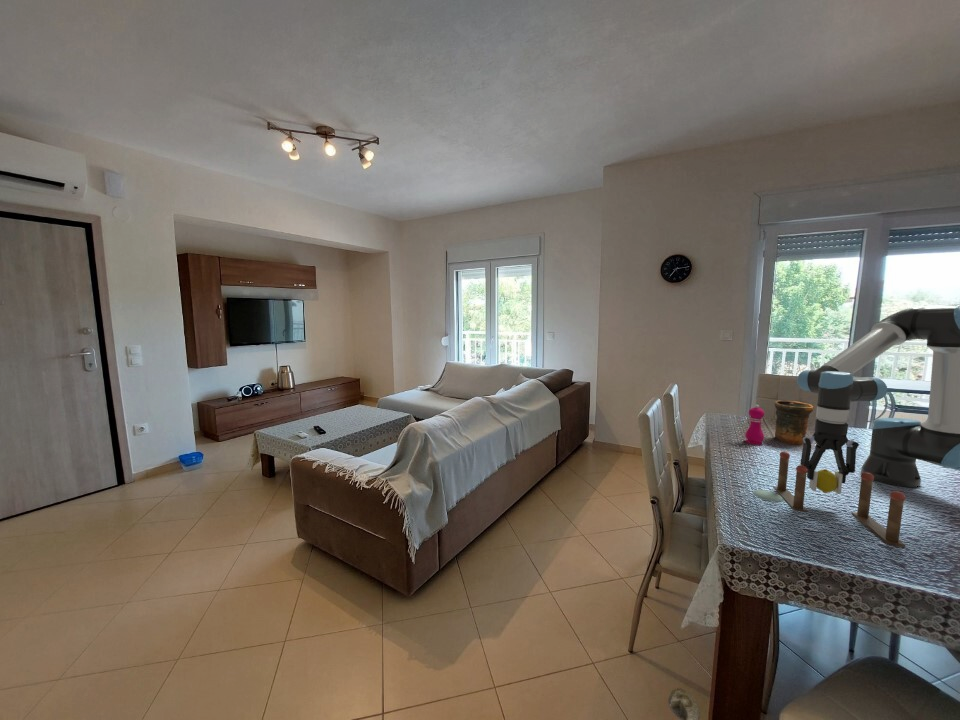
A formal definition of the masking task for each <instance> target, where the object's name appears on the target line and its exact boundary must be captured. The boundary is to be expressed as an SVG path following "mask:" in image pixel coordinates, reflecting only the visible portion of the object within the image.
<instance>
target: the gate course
mask: <svg viewBox="0 0 960 720" xmlns="http://www.w3.org/2000/svg"><path fill="white" fill-rule="evenodd" d="M790 457H791V454H790V453H789V452H788V451H780V453H779V465H778V477H777V485H776V486H773V489H774V490H776V492H777V494H778V495H780V496H781V497H782V498H783V500H784V501H785V502H786V503H787V504H788V505H789V507H790V508H791V509H792V510H793V511H799V512H805V513H808V510H807V508H806V507H805V506H804V504H805V503H804V502H805V493H806V492H805V491H806V483H807V482H806V481H807V472H808V469H807V468H806V467H805V466H803V465H801V464H799V465H797V466H796V467H795V471H796V475H795V483H794V484H795V485H794V493H791V492H790V490H788V489H787V484H788V473H789V472H788V471H789V462H790ZM860 478H861V479H860V488H859V497H858V504H857V505H858V506H857V512H855V511H854V512H853V511H852V512H851V515H852V516H853V517H854V518H856V519H857V520H858V521H859V522H860V523H862V524H863V525H864V526H865V527H866V528H867V529H868V530H869V531H870V532H872V534H874V535H875V536H876V537H878V539H880V540H881V541H882V542H883V543H885V544H886V545H888V546H895V547H900V548H905V547H906V544H905V543H904V542H903V541H902V540H900V532H901V525H902V518H903V508H904V501H905V500H906V495H905V494H904V493H903V492H902V491H900V490H899V491H898V490H893V491H891V492H890V493H889V507H888V514H887V522H886V527H884V526H882V525H881V524H880V523H879V522H878V521H876V520H875V519H873V517H871V516H870V508H871V499H872V490H873V481H875V480H874V476H873V475H872V474H871V473H868V472H864V473H862V474H861V473H860Z"/></svg>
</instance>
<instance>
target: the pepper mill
mask: <svg viewBox="0 0 960 720" xmlns="http://www.w3.org/2000/svg"><path fill="white" fill-rule="evenodd" d="M748 415H749V419H748V420H749V421H750V424H749V427H748V428H747V430H746V431H745V432H746V433H745V438H746V441H745V442H746V443H747V444H750V445H756V446H761V445H763V443H762V442H763V441H764V439H765V435H764V432H763V430H762V422H763V420H764V419H763V418H764V417H765V411H764V410H763V409H762V408H760V405H759V404H754V407H752V408H750V409H749V411H748Z"/></svg>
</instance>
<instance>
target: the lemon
mask: <svg viewBox="0 0 960 720" xmlns="http://www.w3.org/2000/svg"><path fill="white" fill-rule="evenodd" d="M836 487H837V479H836V477H835V473H833V472H832V471H829V470H828V469H826V468H823V469H820V470H818V476H817V487H816V489H818V490H819V491H821V492H822V493H823V494H828V493H831V492H835V491H834V490H835V489H836Z"/></svg>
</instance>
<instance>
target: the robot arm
mask: <svg viewBox="0 0 960 720" xmlns="http://www.w3.org/2000/svg"><path fill="white" fill-rule="evenodd" d="M870 330H871V331H869V332H868V333H866V334H864V336H862V337H861V338H859V339H858V340H857V341H855V342H853V344H851V345H850V346H848V347H847V348H845V349H843V350H842V351H841V352H840V353H838V354H837V355H835V356H834V357H833V358H831V359H829V360H828V361H826V362H825V363H824V364H823V365H821V366H820V367H818V368H817V369H816V370H813V369H810V370H809V369H807V370H802V371H801V372H799V374H798V375H797V378H796V383H797V385H798V387H799V388H800V390H803V391H807V392H810V393H816V394H817V404H816V412H815V413H816V414H815V418H816V419H815V424H814V433H813V434H812V436H811V435H810V436H803V437H802V440H803V444H802V450H801V455H800V456H801V459H800V464H799V465H803V466H805V467H806V468H807V469H808V472H807V474H806V479H808V480H809V485H808V488H809V489H811V491H813V492H817V476H818V471H819V470H818V471H817V470H816V469H817V467H818V465H819V462H820V460H821V458H822V457H823V455H824V453H825V452H826V451H828V450H830V451H831V450H832V452H833V454H834V455H833V456H834V458H835V462H836V466H837V470H835V471H834V475H835V477H836V479H837V487H836V489H835V490H834V491H833V492H835V493H836V494H837V495H841V494H842V485H843V484H846V482H847V481H846V480H847V476H848V475H849V473H851V474H854V473H855V472H856V462H857V461H856V459H857V458H856V457H857V449H858V447H859V445H860V443H858V442H856V441H855V440H851V439H848V437H847V435H848V429H849V424H848V422H849V420H850V412H851V411H850V409H851V403H852V402H873V401H879V400H881V399H883V398H884V397H885V396H886V395H887V393H888V386H887V384H886V383H885V381H884V380H882V379H880V378H879V377H874V376H872V377H871V376H854V374H855V373H856V372H858V371H859V370H861V369H862V368H864V367H865V366H867V365H868V364H869V363H870V362H873V360H876V359H877V358H878V357H879V356H881V355H882V354H883V353H885V352H886V351H887V350H890V348H892V347H894V346H901V345H902V344H903V343H905V342H907V341H910V340H923V341H925V340H926V347H927V348H929V349H930V350H931V351H932V352H933V353H932V363H931V366H932V367H931V376H930V390H929V400H928V401H929V402H928V414H927V420H926V421H924V422H922V421H920V420H917V419H912V418H911V419H910V418H898V417H897V418H896V417H894V418H893V417H879V418H876V419H875V420H874V421H873V424H872V427H871V431H872V432H871V437H870V438H871V439H870V449H869V455H868V457H867V458H866V459H865V461H864V463H863V464H862V465H861V469H860V475H861V474H862V473H864V472H868V473H871V474H872V475H873V476H874V480H873V481H876V482H880V483H883V484H888V485H891V486H896V487H897V486H898V487H904V488H905V487H906V488H917V486H918V487H920V486H921V482H922V479H921V475H920V473H919V469H918V466H917V460H919V461H922V462H927V463H930V464H933V465H937V466H940V467H942V468H944V469H945V468H946V469H949V470H951V469H952V470H955V471H959V472H960V304H938V305H932V304H931V305H927V304H926V305H917V306H911V307H907V308H905V309H902V310H899V311H897V312H894V313H893V314H890V315H889V316H887V317H885V318H883V319H881V320H880V321H878V322H877V323H875V324H874V325H873V326H872V327H871V329H870ZM813 442H815V443H816V445H815V446H814V450H813V452H812V444H813ZM844 445H846V451H845V452H846V454H845V459H844V453H843V452H844V451H843V447H844ZM811 452H812V454H811Z"/></svg>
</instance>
